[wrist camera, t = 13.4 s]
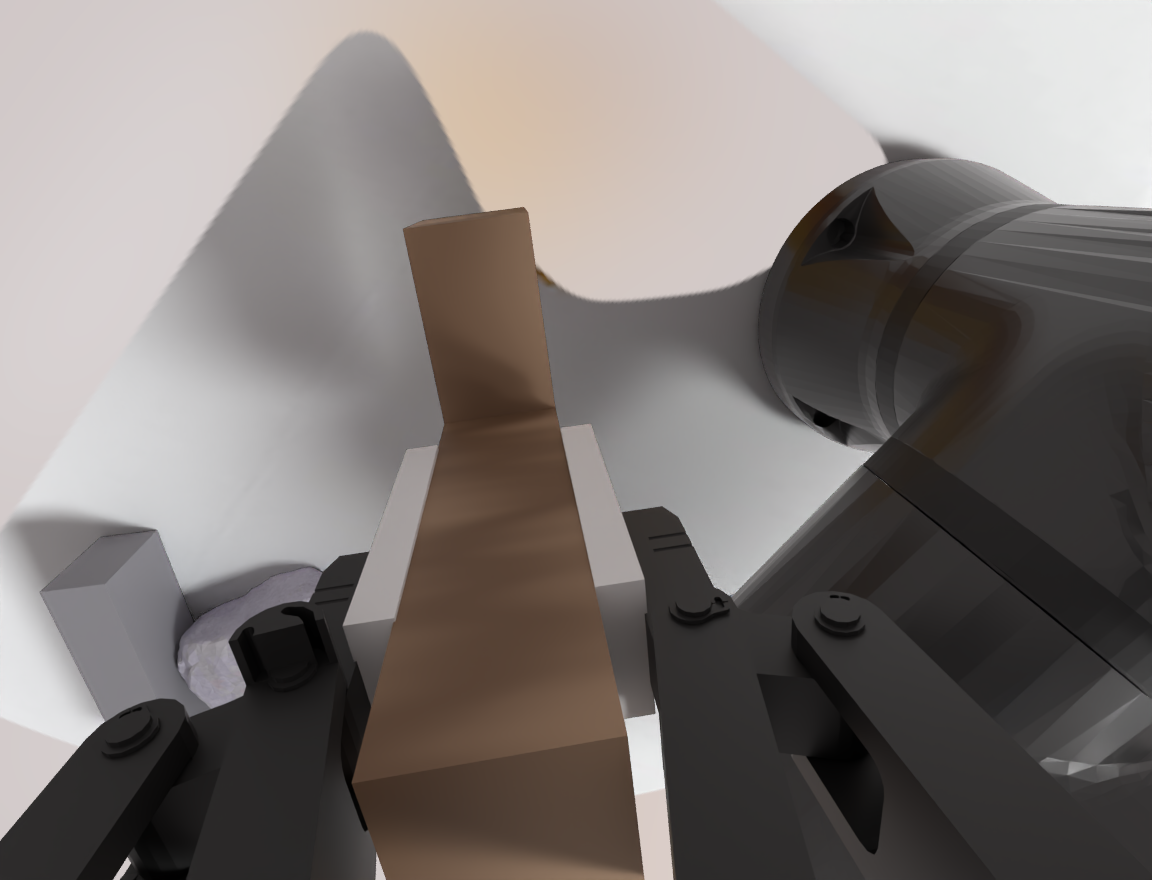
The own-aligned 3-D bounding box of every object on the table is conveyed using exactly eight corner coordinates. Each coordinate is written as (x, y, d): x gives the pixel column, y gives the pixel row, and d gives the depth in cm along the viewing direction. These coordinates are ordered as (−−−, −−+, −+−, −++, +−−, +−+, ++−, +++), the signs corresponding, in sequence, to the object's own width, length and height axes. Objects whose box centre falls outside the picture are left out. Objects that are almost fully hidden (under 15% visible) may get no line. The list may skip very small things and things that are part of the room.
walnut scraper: (523, 207, 19) (572, 269, 5) (575, 571, 24) (671, 1108, 10) (423, 220, 19) (185, 322, 5) (496, 583, 24) (482, 1146, 10)
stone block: (326, 534, 38) (174, 621, 37) (321, 574, 34) (149, 674, 33) (426, 661, 44) (295, 741, 42) (433, 710, 39) (287, 801, 38)
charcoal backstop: (157, 530, 35) (105, 584, 30) (231, 717, 40) (197, 786, 36) (100, 537, 35) (39, 592, 30) (183, 724, 40) (142, 795, 36)
